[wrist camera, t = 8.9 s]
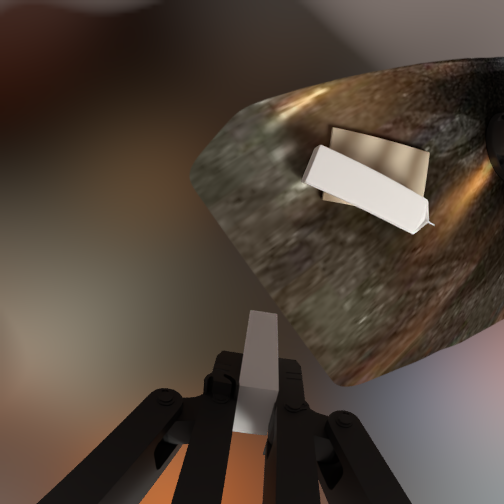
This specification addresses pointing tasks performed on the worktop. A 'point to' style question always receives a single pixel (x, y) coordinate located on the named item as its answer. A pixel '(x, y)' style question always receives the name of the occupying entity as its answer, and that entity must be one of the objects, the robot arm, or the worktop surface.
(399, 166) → the board
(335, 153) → the white carton-shaped block
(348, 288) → the worktop surface
